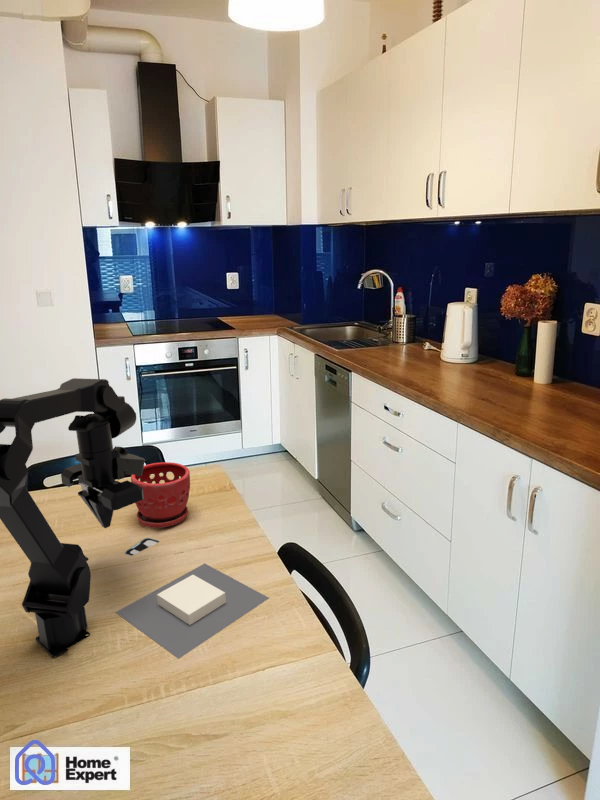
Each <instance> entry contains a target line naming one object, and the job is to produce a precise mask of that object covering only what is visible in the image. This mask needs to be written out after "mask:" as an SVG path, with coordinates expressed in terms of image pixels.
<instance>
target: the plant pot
mask: <svg viewBox="0 0 600 800" xmlns="http://www.w3.org/2000/svg"><path fill="white" fill-rule="evenodd" d="M169 472H170V473H172V474H173V478H172V479H170V478H168V476H167V474H168V473H169ZM190 472H191V471H190V469H189V468H188V467H187V466H186V465H183V464H181V463H177V462H169V461H167V462H165V461H164V462H153V463H150V464H144V468H143V473H142V476H137V475H130V482H132V483H134V484H136V485H138V486H140V487H141V488H143V497H144V498H143V500H141V501H138V502H136V503H134V504H135V506H136V507H137V509H138V511H137V512H136V519H137V520H138V521H139V523H140V524H141V525H142V526H145V527H149V528H153V529H159V528H161V529H162V528H163V529H164V528H168V527H173V526H175V525H177V524H179V523H181V522H182V521H184V519H185V518H186V517H187V516H188V513H189V509H188V506H187V504H188V501H189V497H190V489H191V473H190ZM161 473H162V474H163V475H161V476H160V474H161ZM151 475H153V476H154V477H152V478H151ZM161 481H163V482H161ZM153 482H155V483H153ZM160 482H161V483H160Z"/></svg>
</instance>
